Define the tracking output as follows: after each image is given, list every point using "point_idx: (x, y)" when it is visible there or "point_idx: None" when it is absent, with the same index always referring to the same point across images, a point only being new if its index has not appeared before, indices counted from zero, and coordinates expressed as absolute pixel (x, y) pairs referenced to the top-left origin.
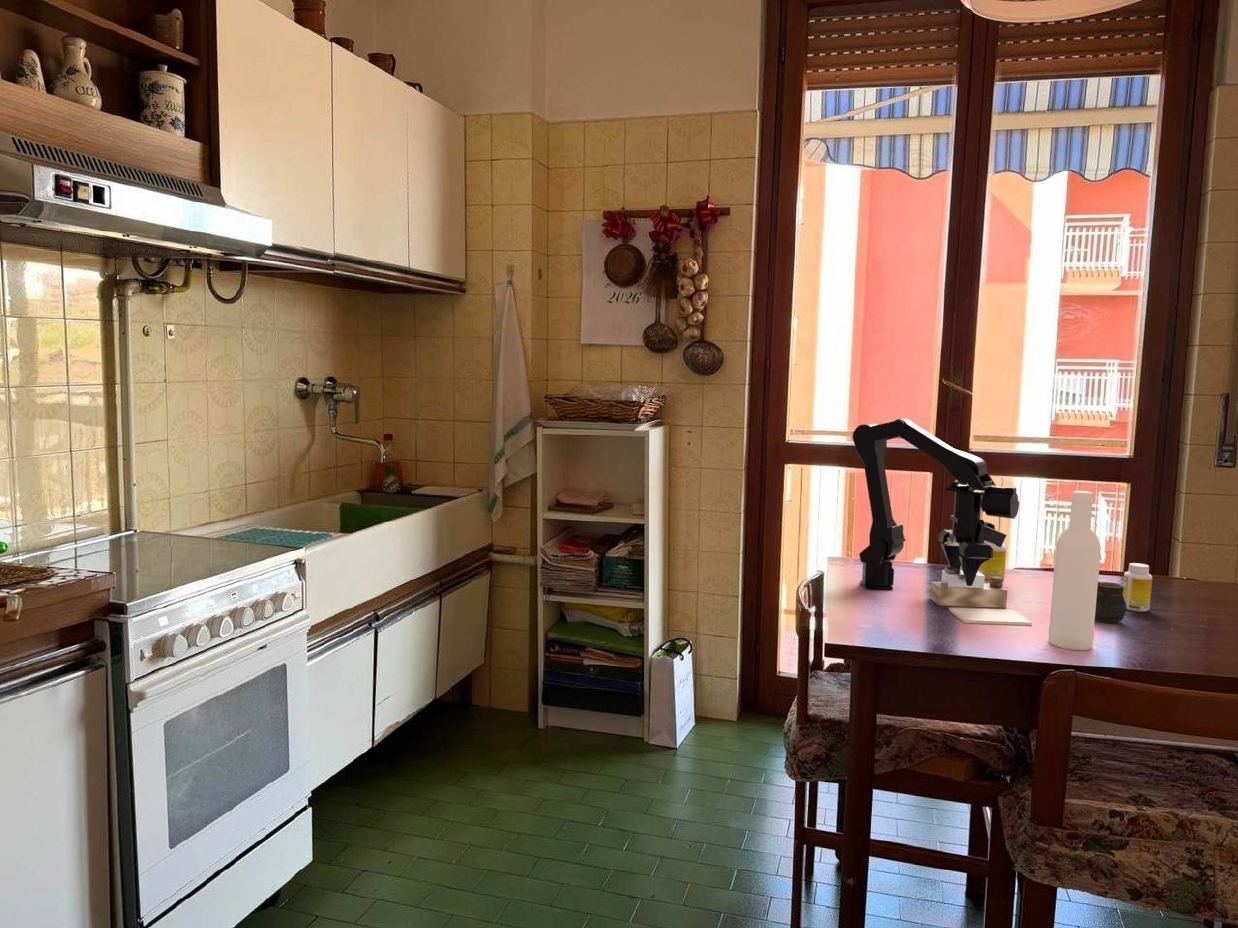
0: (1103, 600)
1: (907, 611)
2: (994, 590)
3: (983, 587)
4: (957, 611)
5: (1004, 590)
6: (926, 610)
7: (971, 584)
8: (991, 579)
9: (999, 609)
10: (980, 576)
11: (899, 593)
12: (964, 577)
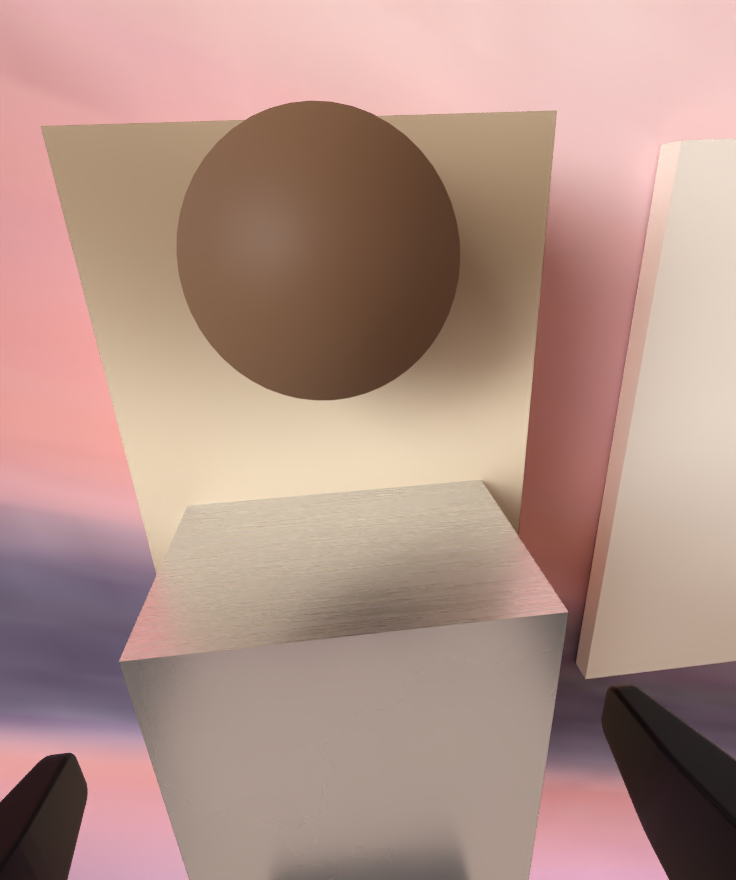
0: None
1: (600, 838)
2: (528, 341)
3: (484, 491)
4: (690, 646)
5: (548, 173)
6: (580, 766)
7: (647, 702)
8: (372, 383)
9: (658, 306)
10: (552, 658)
11: (161, 858)
12: (667, 859)
